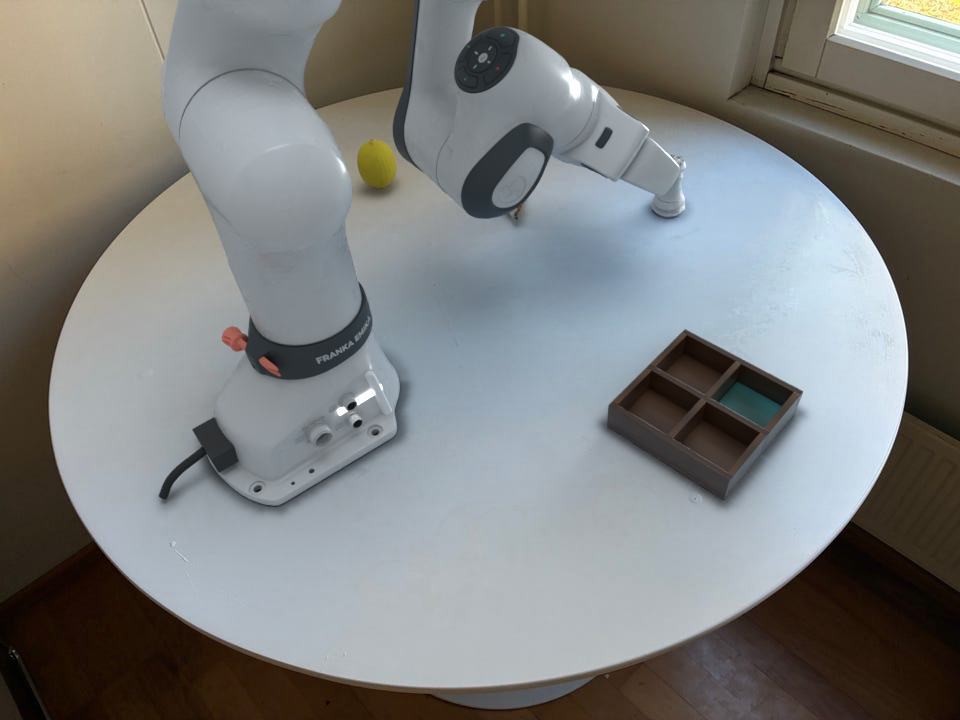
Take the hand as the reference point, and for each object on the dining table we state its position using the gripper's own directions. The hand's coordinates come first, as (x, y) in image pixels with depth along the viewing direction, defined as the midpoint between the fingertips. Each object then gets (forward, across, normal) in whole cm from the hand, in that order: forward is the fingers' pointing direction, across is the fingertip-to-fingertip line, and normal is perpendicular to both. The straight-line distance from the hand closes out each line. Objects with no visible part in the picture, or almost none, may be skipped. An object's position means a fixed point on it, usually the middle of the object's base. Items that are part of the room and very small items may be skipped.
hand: (633, 161), depth 94 cm
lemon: (-6, -31, -22) cm, 39 cm away
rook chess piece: (+13, 0, -3) cm, 14 cm away
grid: (-3, +28, -19) cm, 34 cm away
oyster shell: (+2, -15, -14) cm, 21 cm away
